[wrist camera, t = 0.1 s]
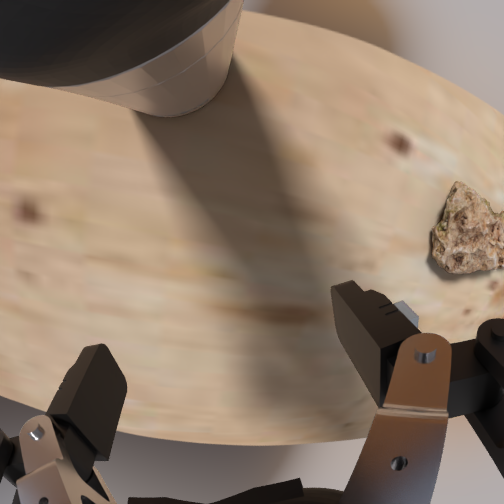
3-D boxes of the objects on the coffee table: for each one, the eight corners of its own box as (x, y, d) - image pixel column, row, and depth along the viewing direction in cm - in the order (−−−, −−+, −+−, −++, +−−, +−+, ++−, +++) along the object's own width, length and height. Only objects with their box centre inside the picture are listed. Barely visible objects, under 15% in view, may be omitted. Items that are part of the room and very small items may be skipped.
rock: (532, 188, 26) (529, 267, 27) (504, 187, 31) (503, 260, 32) (454, 177, 23) (452, 285, 25) (421, 179, 28) (420, 274, 30)
